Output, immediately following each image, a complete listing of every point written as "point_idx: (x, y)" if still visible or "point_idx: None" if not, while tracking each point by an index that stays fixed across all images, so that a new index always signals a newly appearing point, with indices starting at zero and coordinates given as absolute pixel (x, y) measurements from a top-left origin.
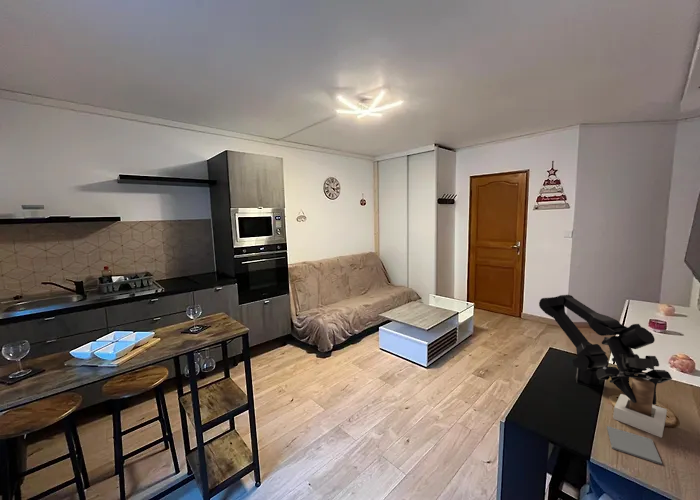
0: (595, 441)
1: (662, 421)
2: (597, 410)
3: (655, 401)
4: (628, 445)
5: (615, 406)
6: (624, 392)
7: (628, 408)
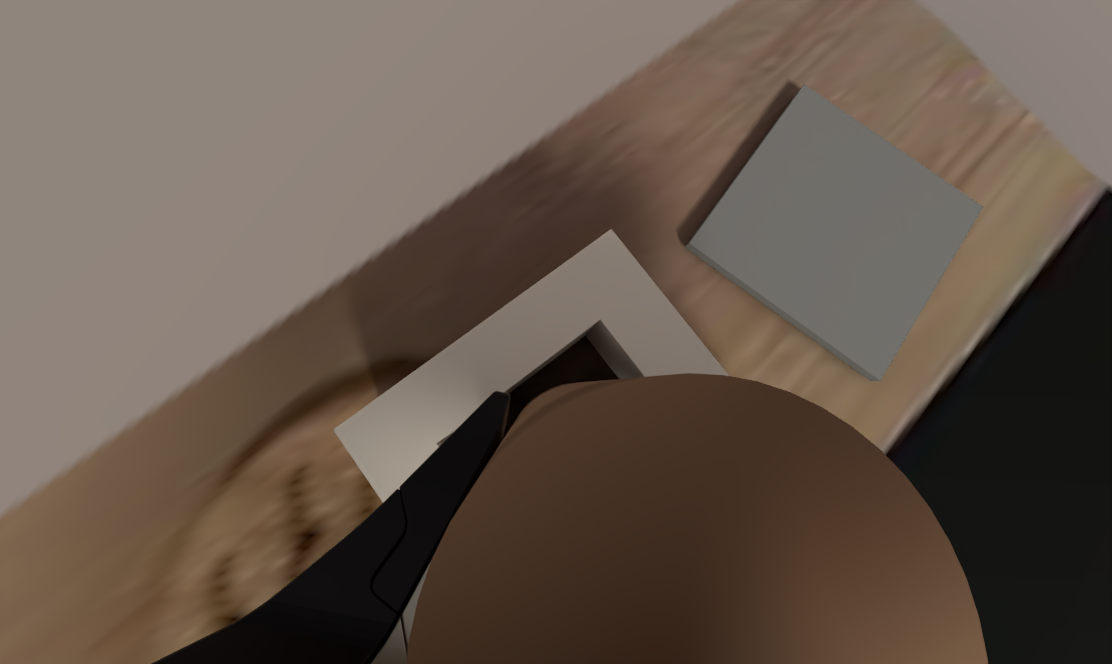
0: (1018, 275)
1: (569, 272)
2: None
3: (493, 403)
4: (880, 208)
5: None
6: None
7: None
